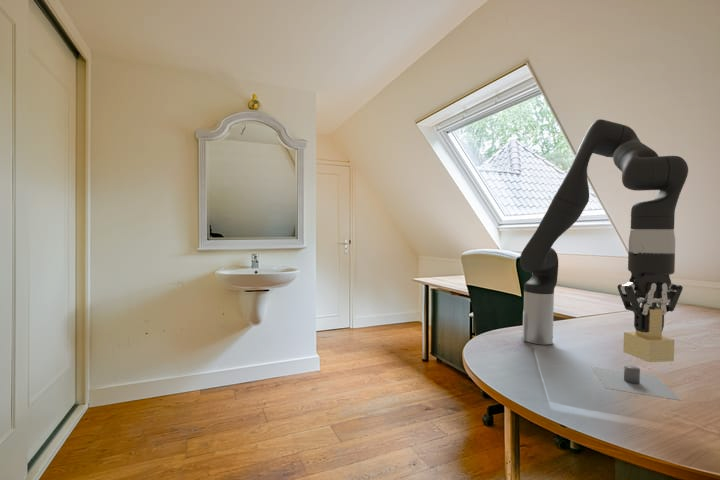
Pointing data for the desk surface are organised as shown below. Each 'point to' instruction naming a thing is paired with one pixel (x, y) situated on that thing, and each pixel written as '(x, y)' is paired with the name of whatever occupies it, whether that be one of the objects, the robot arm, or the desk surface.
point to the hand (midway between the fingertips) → (648, 330)
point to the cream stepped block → (650, 340)
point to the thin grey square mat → (634, 382)
